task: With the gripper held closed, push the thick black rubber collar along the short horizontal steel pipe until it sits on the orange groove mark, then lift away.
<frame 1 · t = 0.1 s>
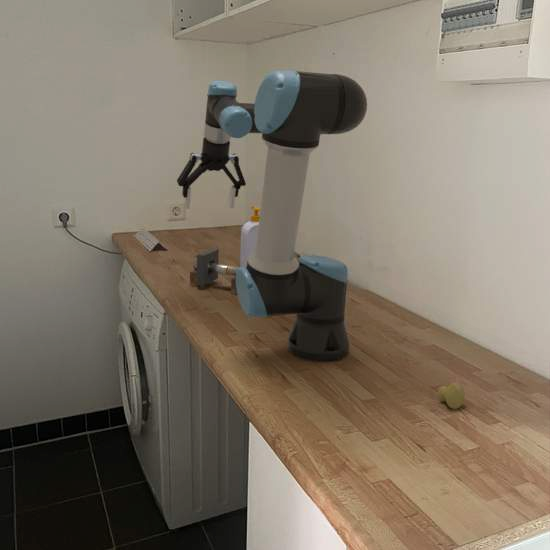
hand: (209, 206, 172), 28 cm above the worktop, tool tilted 20°, fingers open, 13 cm apart
soap bottle: (254, 269, 212), on the worktop
saddles: (219, 287, 188), on the worktop
collar: (207, 266, 187), point 7 cm above the worktop, slide at 0.0 cm
pipe: (219, 268, 186), on the saddles, point 6 cm above the worktop
knob: (449, 405, 118), on the worktop
corner bead: (150, 245, 245), on the worktop
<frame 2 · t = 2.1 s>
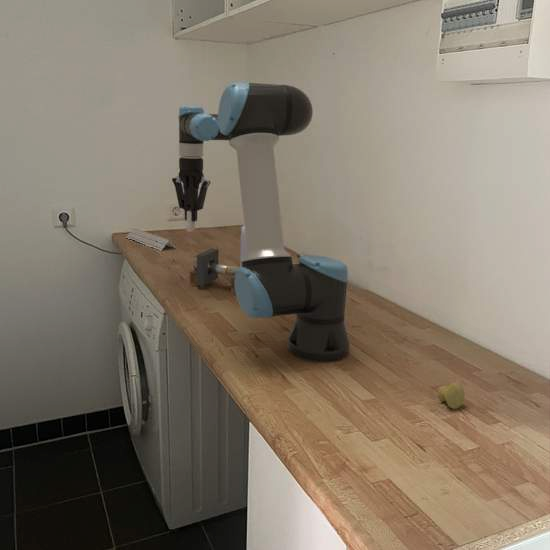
hand: (190, 230, 187), 18 cm above the worktop, tool pointing down, fingers closed
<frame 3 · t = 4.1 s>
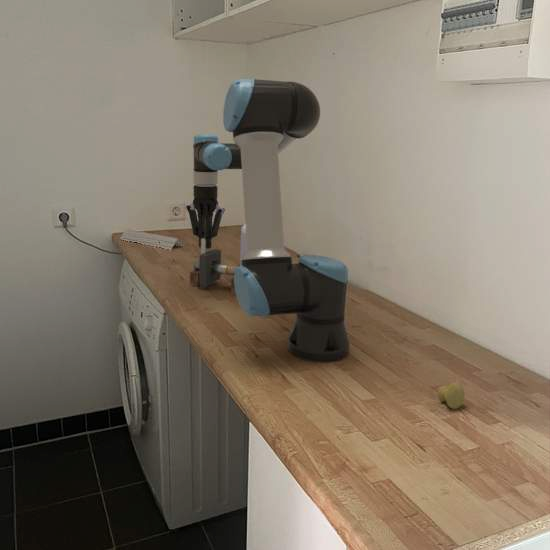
hand: (205, 257, 187), 9 cm above the worktop, tool pointing down, fingers closed
collar: (210, 267, 187), point 7 cm above the worktop, slide at 0.9 cm, touching gripper
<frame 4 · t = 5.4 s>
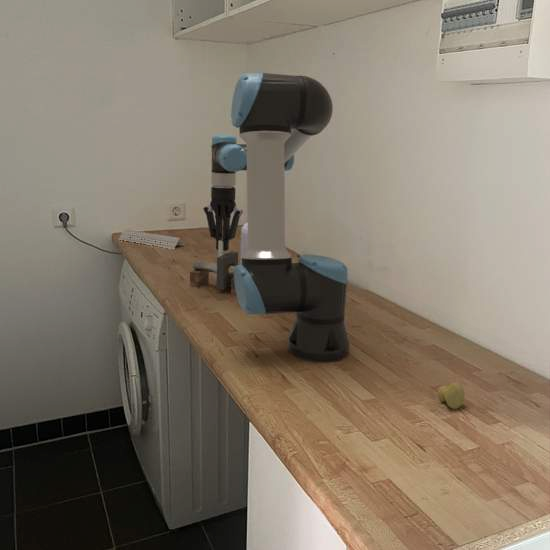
hand: (222, 259, 185), 10 cm above the worktop, tool pointing down, fingers closed
collar: (227, 269, 185), point 7 cm above the worktop, slide at 7.2 cm
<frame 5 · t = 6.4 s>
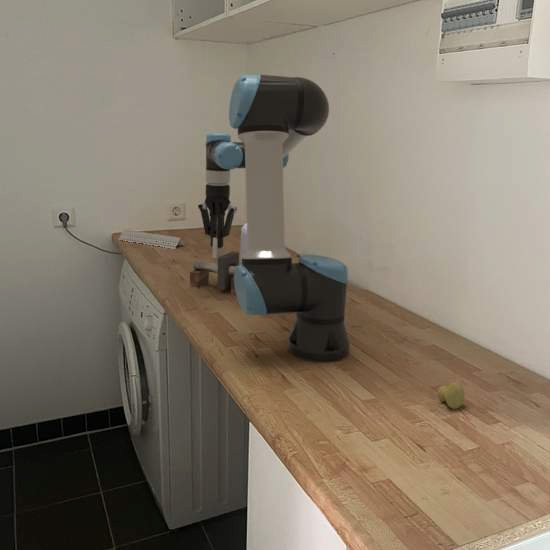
hand: (216, 257, 186), 10 cm above the worktop, tool pointing down, fingers closed
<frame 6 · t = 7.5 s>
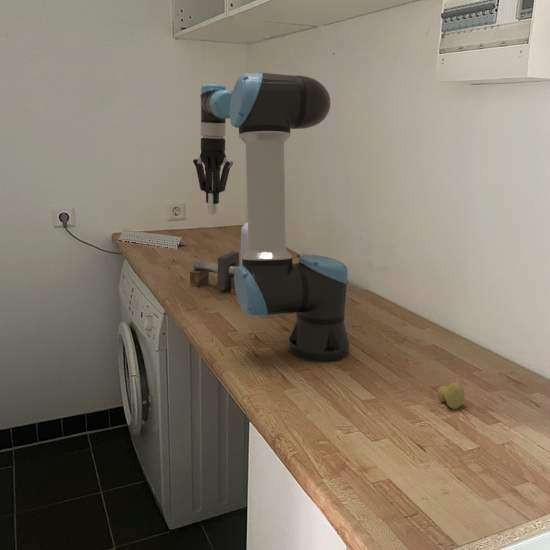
hand: (212, 213, 182), 24 cm above the worktop, tool pointing down, fingers closed
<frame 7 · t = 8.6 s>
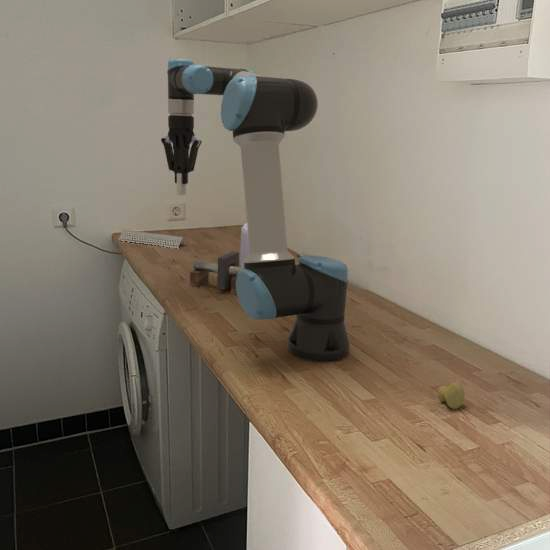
hand: (181, 194, 177), 30 cm above the worktop, tool pointing down, fingers closed
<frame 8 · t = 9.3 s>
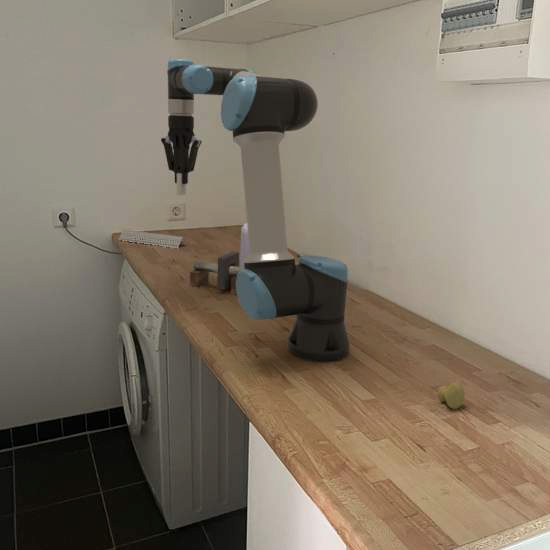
hand: (181, 194, 177), 30 cm above the worktop, tool pointing down, fingers closed
at the end: collar slide at 7.5 cm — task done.
